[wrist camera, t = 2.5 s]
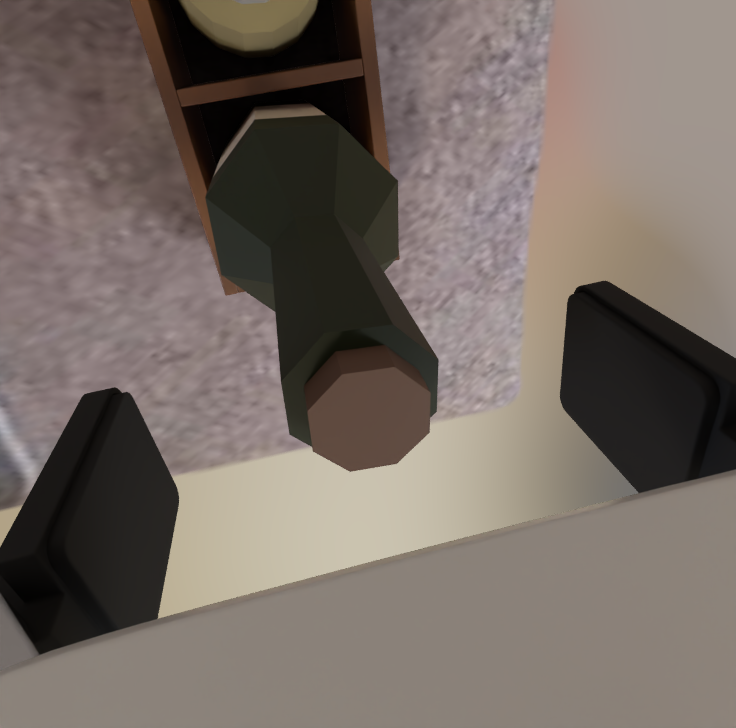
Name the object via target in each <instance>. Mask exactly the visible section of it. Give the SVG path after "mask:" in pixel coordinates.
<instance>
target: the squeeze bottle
mask: <svg viewBox="0 0 736 728" xmlns="http://www.w3.org/2000/svg"><path fill="white" fill-rule="evenodd" d="M318 1H319V0H178V2H179V3H180V5H181V7H182V9H183V10H184V12H185V14H186V16H187V17H188V19H189V21H190V23H191V24H192V25H193V26H194V27H195V28H196V29H197V30H198V31H199V32H201V33H202V34H203V35H204V36H205V37H206V38H207V39H208V40H209V41H211V42H212V43H213V44H214V45H215V46H216V47H217V48H220V49H223V50H225V51H228V52H231V53H233V54H236V55H238V56H241V57H244V58H256V57H270V56H275V55H277V54H278V53H280V52H282V51H283V50H285V49H287V48H288V47H290V46H292V45H293V44H295V43H297V42H298V41H299V39H300V38H301V36H302V35H303V33H304V32H305V30H306V29H307V28H308V26H309V25H310V23H311V22H312V20H313V19H314V17H315V14H316V10H317V5H318Z"/></svg>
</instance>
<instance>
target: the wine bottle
mask: <svg viewBox="0 0 736 728" xmlns="http://www.w3.org/2000/svg"><path fill="white" fill-rule="evenodd" d="M205 199H206V204H207V209H208V213H209V218H210V223H211V228H212V233H213V237H214V242H215V247H216V252H217V256H218V261H219V266H220V271H221V275H222V276H224V277H225V278H227V279H228V280H230V281H231V282H232V283H234V284H235V285H237V286H238V287H240V288H241V289H243V290H244V291H246V292H247V293H249V294H250V295H251V296H253V297H254V298H256V299H257V300H259V301H260V302H262V303H263V304H265V305H266V306H268V307H269V308H270V309H272V310H273V311H275V312H276V324H277V336H278V349H279V361H280V374H281V384H282V390H283V396H284V402H285V409H286V415H287V421H288V427H289V433H290V435H292V436H293V437H295V438H297V439H299V440H301V441H302V442H304V443H306V444H308V445H310V446H312V448H313V452H315V453H317V454H319V455H321V456H323V457H324V458H326V459H328V460H330V461H332V462H333V463H335V464H337V465H339V466H341V467H343V468H344V469H346V470H348V471H350V472H351V471H356V470H363V469H368V468H374V467H380V466H386V465H391V464H397V463H398V462H399V461H400V460H401V459H402V458H403V457H404V456H405V455H406V454H407V453H408V452H409V451H410V450H412V449H413V448H414V447H415V446H416V445H417V444H418V443H419V442H420V441H421V440H422V439H423V438H424V437H425V436H426V435H427V434H428V433H429V432H430V431H429V430H430V417H431V416H432V415H434V414H435V413H436V412H437V385H438V358H437V357H436V355H435V353H434V352H433V350H432V349H431V347H430V345H429V344H428V342H427V341H426V339H425V337H424V336H423V334H422V333H421V331H420V329H419V328H418V326H417V325H416V323H415V321H414V320H413V318H412V317H411V315H410V313H409V312H408V310H407V308H406V307H405V305H404V304H403V302H402V300H401V299H400V297H399V296H398V294H397V292H396V291H395V289H394V288H393V286H392V284H391V283H390V281H389V280H388V278H387V276H386V275H385V273H384V271H385V270H386V269H387V268H388V267H389V266H390V265H391V264H392V262H393V261H394V260H395V259H396V258H397V257H398V256H399V251H398V180H397V179H395V178H394V177H393V176H392V175H391V174H390V173H389V172H388V171H387V170H386V169H385V168H384V167H383V166H382V165H381V164H380V163H379V162H378V161H377V160H376V159H375V158H374V157H373V156H372V155H371V154H370V153H369V152H368V151H367V150H366V149H365V148H364V147H363V146H362V145H361V144H360V143H359V142H358V141H357V140H356V139H355V138H354V137H353V136H352V135H350V134H349V133H348V132H347V131H346V130H345V129H344V128H343V127H342V126H341V125H340V124H339V123H338V122H336V121H335V120H333V119H332V118H330V117H329V116H327V115H326V114H324V113H323V112H322V111H320V110H319V109H317V108H316V107H314V106H313V105H311V104H310V103H308V102H307V101H305V100H304V99H302V100H286V101H269V102H255V103H254V105H253V106H252V107H251V109H250V110H249V112H248V113H247V114H246V116H245V117H244V119H243V120H242V121H241V123H240V124H239V126H238V127H237V128H236V130H235V131H234V132H233V134H232V135H231V137H230V138H229V139H228V141H227V142H226V145H225V147H224V150H223V153H222V155H221V158H220V160H219V163H218V165H217V168H216V171H215V173H214V176H213V178H212V181H211V183H210V186H209V189H208V191H207V194H206V196H205Z"/></svg>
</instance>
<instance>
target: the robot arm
mask: <svg viewBox="0 0 736 728" xmlns="http://www.w3.org/2000/svg"><path fill="white" fill-rule="evenodd" d="M560 400H561V403H562V406H563V408H564V410H565V411H566V412H567V413H568V415H569V416H570V417H571V418H572V419H573V420H574V421H575V422H576V424H578V426H579V427H580V428H581V429H582V430H583V431H584V432H585V433H586V435H587V436H588V437H589V438H590V439H591V440H592V441H593V442H594V444H595V445H596V446H597V447H598V448H599V449H600V450H601V451H602V452H603V454H604V455H605V456H606V457H607V458H608V459H609V460H610V461H611V462H612V464H613V465H614V466H615V467H616V468H617V469H618V470H619V471H620V472H621V473H622V475H623V476H624V477H625V478H626V479H627V480H628V481H629V483H631V485H632V486H633V487H634V488H635V489H636V490H637V491H638V494H634V495H630V496H626V497H622V498H619V499H614V500H610V501H606V502H602V503H598V504H594V505H591V506H587V507H583V508H579V509H575V510H571V511H567V512H563V513H559V514H555V515H551V516H547V517H543V518H539V519H535V520H531V521H527V522H523V523H520V524H516V525H512V526H508V527H504V528H501V529H497V530H493V531H489V532H485V533H481V534H477V535H473V536H469V537H465V538H462V539H458V540H454V541H450V542H446V543H442V544H438V545H434V546H430V547H427V548H423V549H419V550H415V551H411V552H407V553H404V554H400V555H396V556H392V557H388V558H384V559H380V560H376V561H373V562H369V563H365V564H361V565H357V566H354V567H350V568H346V569H342V570H338V571H335V572H331V573H327V574H323V575H320V576H316V577H312V578H308V579H305V580H301V581H297V582H293V583H289V584H285V585H282V586H278V587H274V588H270V589H267V590H263V591H259V592H255V593H251V594H248V595H244V596H240V597H236V598H233V599H229V600H225V601H222V602H218V603H214V604H210V605H206V606H203V607H199V608H195V609H192V610H188V611H185V612H181V613H177V614H174V615H170V616H167V617H163V618H159V619H157V618H158V613H159V608H160V602H161V597H162V591H163V586H164V581H165V576H166V570H167V564H168V559H169V554H170V548H171V543H172V538H173V532H174V527H175V521H176V516H177V511H178V505H179V495H178V491H177V487H176V485H175V483H174V481H173V478H172V476H171V474H170V472H169V470H168V468H167V466H166V464H165V462H164V460H163V458H162V456H161V454H160V452H159V450H158V448H157V446H156V444H155V442H154V440H153V438H152V436H151V434H150V432H149V430H148V427H147V425H146V423H145V421H144V419H143V417H142V415H141V413H140V411H139V409H138V407H137V405H136V403H135V401H134V399H133V397H132V396H131V394H130V393H128V392H125V393H121V391H120V390H119V389H117V388H115V387H114V388H110V389H105V390H101V391H96V392H91V393H87V394H84V395H83V396H82V398H81V400H80V402H79V403H78V405H77V407H76V409H75V411H74V413H73V414H72V416H71V418H70V420H69V422H68V424H67V426H66V427H65V429H64V431H63V433H62V435H61V437H60V438H59V440H58V442H57V444H56V446H55V448H54V449H53V451H52V453H51V455H50V457H49V459H48V460H47V462H46V464H45V466H44V468H43V470H42V471H41V473H40V475H39V477H38V479H37V481H36V483H35V484H34V486H33V488H32V490H31V492H30V494H29V495H28V497H27V499H26V501H25V503H24V505H23V506H22V508H21V510H20V512H19V514H18V516H17V517H16V519H15V521H14V523H13V525H12V527H11V529H10V531H9V532H8V534H7V536H6V538H5V540H4V541H3V543H2V545H1V547H0V728H736V358H734V357H733V356H731V355H729V354H728V353H726V352H724V351H723V350H721V349H719V348H718V347H716V346H714V345H712V344H711V343H709V342H708V341H706V340H704V339H703V338H701V337H699V336H698V335H696V334H694V333H693V332H691V331H689V330H688V329H686V328H685V327H683V326H681V325H679V324H678V323H676V322H675V321H673V320H671V319H670V318H668V317H666V316H665V315H663V314H661V313H660V312H658V311H656V310H655V309H653V308H651V307H649V306H648V305H646V304H645V303H643V302H641V301H640V300H638V299H636V298H635V297H633V296H631V295H630V294H628V293H627V292H625V291H623V290H621V289H620V288H618V287H617V286H615V285H613V284H612V283H610V282H608V281H601V282H596V283H592V284H588V285H583V286H579V287H577V288H576V290H575V292H574V294H572V295H571V296H569V298H568V302H567V314H566V328H565V340H564V352H563V364H562V377H561V389H560Z"/></svg>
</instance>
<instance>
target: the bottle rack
mask: <svg viewBox="0 0 736 728" xmlns="http://www.w3.org/2000/svg"><path fill="white" fill-rule="evenodd" d="M130 2H131V6H132V9H133V12H134V15H135V18H136V21H137V24H138V27H139V30H140V33H141V36H142V39H143V43H144V46H145V49H146V52H147V55H148V58H149V61H150V64H151V67H152V70H153V73H154V76H155V80H156V83H157V86H158V89H159V92H160V95H161V98H162V101H163V104H164V107H165V110H166V114H167V117H168V120H169V123H170V126H171V129H172V132H173V135H174V138H175V141H176V144H177V147H178V151H179V154H180V157H181V160H182V163H183V166H184V169H185V172H186V175H187V178H188V181H189V184H190V188H191V191H192V194H193V197H194V200H195V203H196V206H197V209H198V212H199V215H200V218H201V221H202V225H203V228H204V231H205V234H206V237H207V240H208V243H209V246H210V249H211V252H212V255H213V259H214V262H215V265H216V268H217V271H218V274H219V277H220V280H221V283H222V286H223V289H224V292H225V295H231V294H236V293H238V292H239V293H240V292H245V291H244V290H243V289H241V288H240V287H238V286H237V285H235V284H234V283H232V282H231V281H230V280H228V279H227V278H225V277H224V276H222V275H221V271H220V266H219V261H218V256H217V252H216V247H215V242H214V237H213V233H212V228H211V223H210V218H209V213H208V209H207V204H206V199H205V196H206V194H207V191H208V189H209V186H210V183H211V181H212V178H213V176H214V173H215V171H216V168H217V166H216V163H215V159H214V156H213V152H212V149H211V145H210V142H209V138H208V135H207V132H206V128H205V125H204V121H203V118H202V114H201V111H200V107H199V104H204V103H209V102H215V101H221V100H227V99H233V98H238V97H244V96H250V95H256V94H262V93H267V92H273V91H279V90H285V89H290V88H296V87H302V86H308V85H314V84H319V83H325V82H331V81H337V80H343V84H344V91H345V98H346V105H347V112H348V118H349V125H350V132H351V135H352V136H353V137H354V138H355V139H356V140H357V141H358V142H359V143H360V144H361V145H362V146H363V147H364V148H365V149H366V150H367V151H368V152H369V153H370V154H371V155H372V156H373V157H374V158H375V159H376V160H377V161H378V162H379V163H380V164H381V165H382V166H383V167H384V168H385V169H386V170H387V171H388V172H389V173H390V168H389V159H388V150H387V141H386V132H385V123H384V114H383V105H382V96H381V87H380V78H379V69H378V60H377V51H376V42H375V33H374V24H373V15H372V6H371V0H331V2H332V9H333V16H334V23H335V30H336V36H337V43H338V50H339V57H340V60H335V61H329V62H323V63H317V64H311V65H305V66H299V67H293V68H287V69H281V70H275V71H270V72H264V73H258V74H252V75H246V76H240V77H234V78H228V79H222V80H216V81H210V82H204V83H199V84H193V83H192V80H191V76H190V73H189V70H188V66H187V63H186V59H185V56H184V52H183V49H182V45H181V42H180V38H179V35H178V32H177V28H176V25H175V21H174V18H173V14H172V11H171V7H170V4H169V1H168V0H130ZM398 251H399V249H398ZM399 259H400V258H399V256H398V257H397V258H396V259H395V260H399Z"/></svg>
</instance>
